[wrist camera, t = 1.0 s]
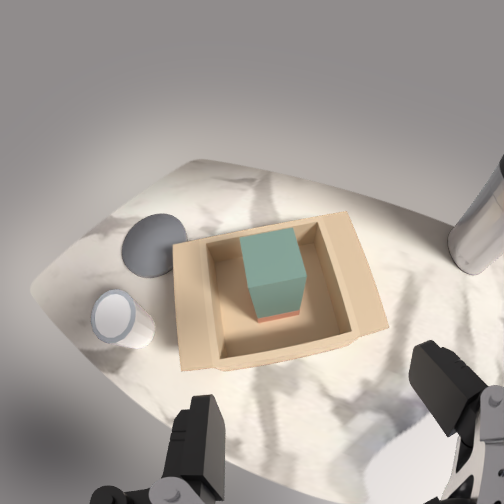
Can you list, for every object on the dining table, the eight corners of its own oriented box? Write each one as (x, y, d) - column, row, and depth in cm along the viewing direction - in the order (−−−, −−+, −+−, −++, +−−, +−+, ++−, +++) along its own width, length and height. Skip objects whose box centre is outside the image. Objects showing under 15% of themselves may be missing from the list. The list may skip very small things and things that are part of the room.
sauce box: (290, 278, 36) (293, 226, 25) (299, 314, 33) (307, 276, 23) (251, 285, 36) (238, 237, 25) (258, 323, 33) (247, 288, 23)
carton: (339, 235, 39) (346, 211, 34) (372, 338, 31) (389, 327, 26) (186, 265, 39) (172, 244, 34) (197, 374, 31) (181, 371, 26)
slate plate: (177, 207, 44) (175, 203, 43) (196, 260, 39) (194, 256, 38) (121, 233, 43) (118, 230, 42) (131, 288, 38) (128, 286, 37)
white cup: (133, 298, 37) (109, 279, 31) (168, 321, 35) (145, 305, 29) (110, 336, 34) (82, 323, 28) (143, 362, 32) (116, 354, 26)
